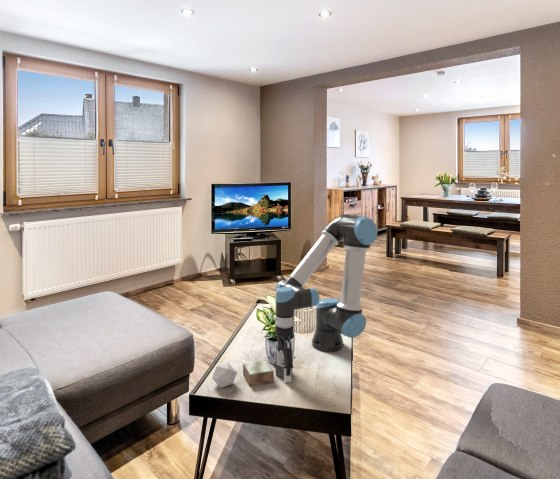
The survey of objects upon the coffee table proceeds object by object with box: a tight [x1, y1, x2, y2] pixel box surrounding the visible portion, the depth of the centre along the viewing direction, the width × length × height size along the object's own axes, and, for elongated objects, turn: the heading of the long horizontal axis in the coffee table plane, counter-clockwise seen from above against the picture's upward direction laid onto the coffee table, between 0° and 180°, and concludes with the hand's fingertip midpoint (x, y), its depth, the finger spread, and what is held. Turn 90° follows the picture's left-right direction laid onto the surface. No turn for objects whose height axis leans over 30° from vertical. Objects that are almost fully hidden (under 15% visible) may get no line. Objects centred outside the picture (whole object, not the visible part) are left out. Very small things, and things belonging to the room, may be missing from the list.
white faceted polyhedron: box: [211, 362, 238, 389], centre depth 157 cm, size 8×9×10 cm
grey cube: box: [275, 359, 293, 379], centre depth 166 cm, size 5×5×5 cm
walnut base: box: [242, 360, 275, 388], centre depth 162 cm, size 10×10×5 cm
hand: (283, 374), depth 166 cm, fingers open, 12 cm apart
